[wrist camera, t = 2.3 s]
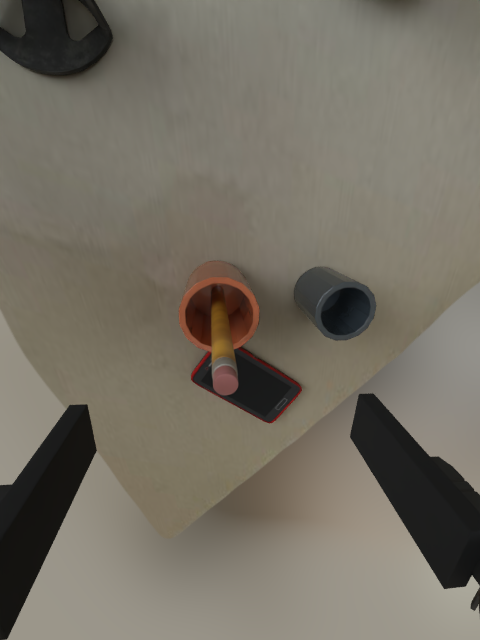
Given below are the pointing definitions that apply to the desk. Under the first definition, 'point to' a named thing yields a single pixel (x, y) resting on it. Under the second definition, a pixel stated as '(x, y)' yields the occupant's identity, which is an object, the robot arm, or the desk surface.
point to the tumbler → (335, 303)
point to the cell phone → (252, 386)
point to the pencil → (222, 346)
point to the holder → (55, 39)
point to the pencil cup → (199, 304)
